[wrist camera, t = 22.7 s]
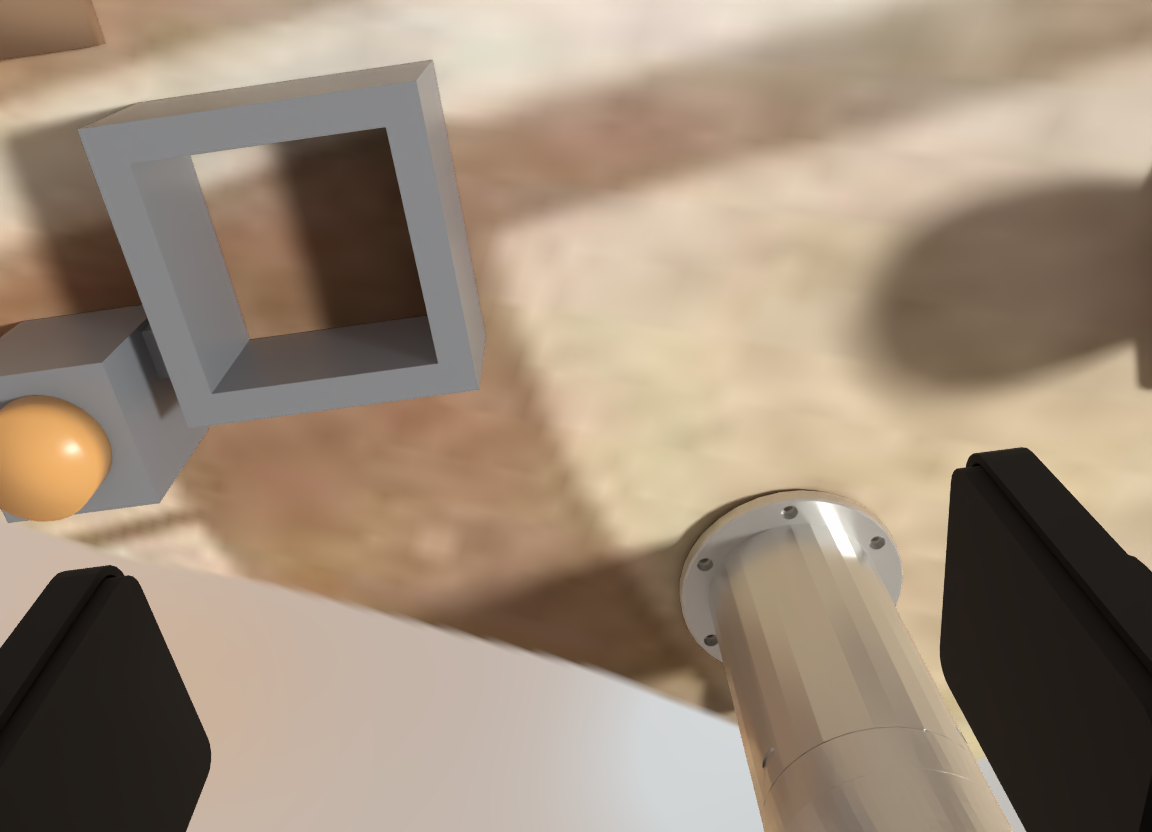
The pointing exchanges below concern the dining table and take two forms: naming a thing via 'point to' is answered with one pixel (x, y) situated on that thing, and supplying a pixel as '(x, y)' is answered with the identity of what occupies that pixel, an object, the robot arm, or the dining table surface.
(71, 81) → the dining table surface
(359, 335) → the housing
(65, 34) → the pad
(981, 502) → the robot arm
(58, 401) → the orange egg-shaped ball
